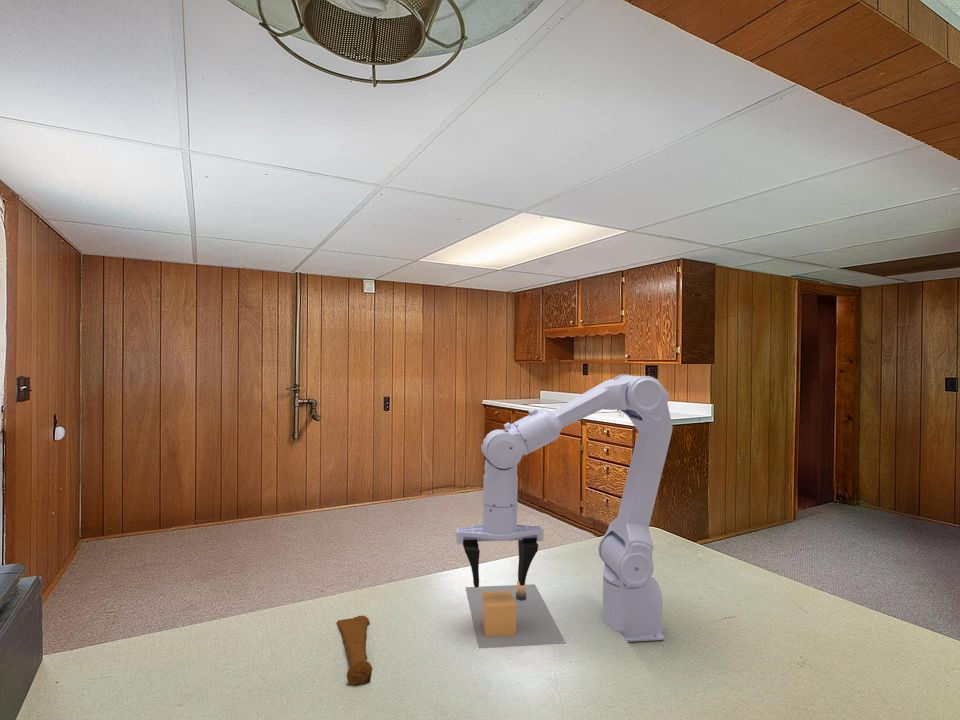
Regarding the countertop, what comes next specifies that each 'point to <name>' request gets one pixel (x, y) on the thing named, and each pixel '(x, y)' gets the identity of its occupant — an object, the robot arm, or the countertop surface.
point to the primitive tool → (356, 648)
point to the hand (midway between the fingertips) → (498, 583)
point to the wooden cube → (498, 613)
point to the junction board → (517, 618)
